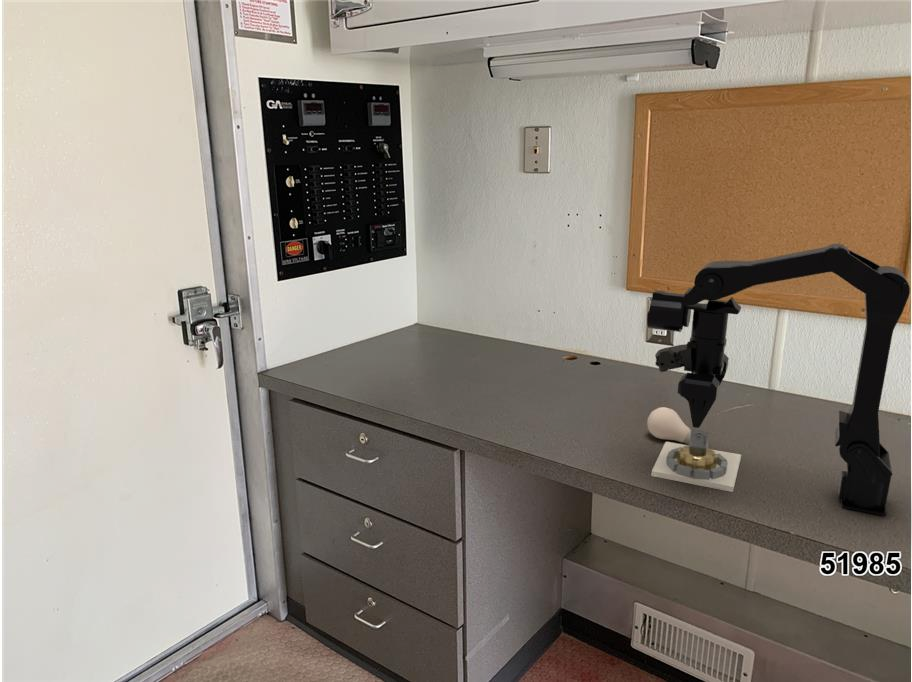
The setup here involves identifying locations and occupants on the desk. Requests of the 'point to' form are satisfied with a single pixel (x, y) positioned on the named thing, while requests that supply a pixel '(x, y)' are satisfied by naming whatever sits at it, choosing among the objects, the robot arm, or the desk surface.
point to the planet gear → (697, 452)
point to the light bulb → (668, 425)
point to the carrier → (713, 478)
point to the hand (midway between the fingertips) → (699, 418)
